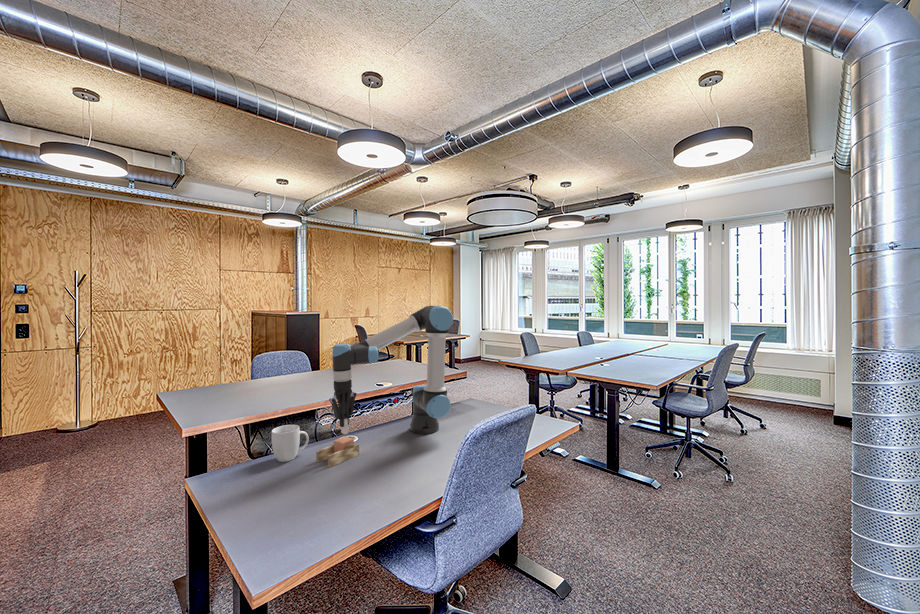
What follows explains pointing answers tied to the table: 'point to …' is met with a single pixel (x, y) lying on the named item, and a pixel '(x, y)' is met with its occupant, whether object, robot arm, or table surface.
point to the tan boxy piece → (337, 454)
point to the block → (342, 443)
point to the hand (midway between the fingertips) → (344, 433)
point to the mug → (287, 442)
